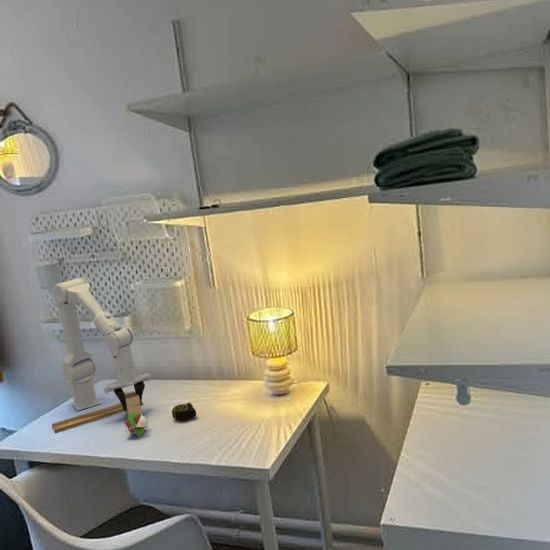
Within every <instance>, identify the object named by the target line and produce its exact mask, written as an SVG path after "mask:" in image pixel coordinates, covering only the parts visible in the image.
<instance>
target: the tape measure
mask: <svg viewBox="0 0 550 550" xmlns="http://www.w3.org/2000/svg"><path fill="white" fill-rule="evenodd" d="M171 415H172V418H173V419H174V421H178V422H184V421H188V420H190V419H194V418H196V417H197V411H196V409H195V408H194V406H193V404H192V403H191V402H187V403H181V404H176V405H175V406H173V408H172V410H171Z"/></svg>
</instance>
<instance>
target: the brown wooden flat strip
mask: <svg viewBox="0 0 550 550" xmlns="http://www.w3.org/2000/svg"><path fill="white" fill-rule="evenodd" d="M141 405H143V406H144V402H143V401H142V403H141ZM122 411H124V410H123V407H122V404H121V402H119V403H115V404H113V405H109V406H107V407H102V408H100V409H95V410H93V411H89V412H86V413H83V414H80V415H75V416H73V417H69V418H67V419H64V420H60V421H57V422H54V423H51V426H52V427H51V428H52V429H53V431H54V433H55V434H56V433H60V432H63V431H66V430H70V429H73V428H77V427H80V426H82V425H86V424H89V423H92V422H95V421H98V420H101V418H102V419H104V417H105V418H108V417H111V416H113V414H114V415H117V414H116V413H118V414H120V413H119V412H121V413H123V412H122ZM124 412H125V411H124ZM110 415H111V416H110ZM107 416H108V417H107Z"/></svg>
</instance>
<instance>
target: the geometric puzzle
mask: <svg viewBox="0 0 550 550" xmlns="http://www.w3.org/2000/svg"><path fill="white" fill-rule="evenodd" d="M139 414H140V413H139ZM148 422H149V421H148V419H147V416H145V415H144V414H143V413H142V414H140V415H138V416H137V415H136V414H135V411H134V412H133V413H132V414H131V415H129V416H128V415H127V416H126V418H125V420H124V422H123V423H124V425H125V427H126V428H127V429H126V428H124V432H125V433H127V432H128V431H129V434H130V435H133V436H135V437H136V438H139V437H140V436H141V435H143V433H145V432H146V430H147V429H148V427H149V423H148ZM135 434H136V435H135Z"/></svg>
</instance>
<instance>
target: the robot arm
mask: <svg viewBox="0 0 550 550" xmlns="http://www.w3.org/2000/svg"><path fill="white" fill-rule="evenodd" d="M91 291H92V290H91V284H90V283H89V282H88V281H87V279H86V278H85V277H83V276H80V277H78V278H75V279H71V280H67V281H64V282H58V283H56V284H55V285H54V286H53V289H52V294H53V298H54V302H55V303H54V304H55V307H57V308H58V311H59V316H60V321H61V324H62V326H61V327H62V329H63V335H64V339H65V344H66V348H67V349H66V350H67V354H66V356H65V357H64V358H63V360H62V361H61V365H62V377H63V379H64V380H65V381H66V382H67V383H68V384H70V386H71V392H72V397H73V401H71V404H72V406H73V408H74V409H75V410H76V411H81V410H85V409H88V408H91V407H95V406H98V405H101V401H100V400H99V399H98V397H97V394H96V388H95V384H94V379H93V378H94V377H95V373H96V372H97V365H96V362H95V360H94V358H93V354H92V353H90V352H89V351H86V350H85V347H84V342H83V337H82V332H81V327H80V323H79V322H80V321H79V319H78V318H79V317H78V314H77V308H76V307H77V305H78V304H79V305H80V306H81V307H82V308H84V310H86V311H87V313H89V314H90V316H91V317H92V318H94V320H93V323H94V325H95V326H96V328H97V329H98V331H100V333H101V334H102V335H103V336H104V337H105V343H106V346H107V348H108V349H109V352H110V355H111V356H112V358H113V363H114V369H115V374H116V379H117V380H116V381H114V382H111V383H109V384H106V385H103V386H102V387H103V390H104V393H105V394H109V393H110V392H113V393H114V394H115V396H116V397H117V399H118V401H119V403H121V404H122V407H123V410H124V412H125V411H127V406H126V403H125V396H124V392H123V390H124V388H127V387H130V386H133V388H134V392H135V393H136V394H137V395H138V396H139V399H140V404H141V403H142V402H143V401H142V398H143V394H144V390H145V388H146V386H145V383H144V382H150V381H152V376H151V373H147V372H146V373H144V374H139V375H137V374H136V369H135V363H134V358H133V353H132V352H133V351H132V347H131V345H132V344H133V342H134V336H133V333H132V330H130V328H128V327H127V326H124V325H123V324H120V323H119V322H118V321H117V320H116V319H115V317H114V316H113V315H112V314H111V313H110V312H109V311H104V310H103V308H102V307H101V305H100V304H99V303H98V302H97V300H96V298H95V297H94V295H93V294H92V293H91ZM141 407H143V406H142V405H141Z"/></svg>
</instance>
